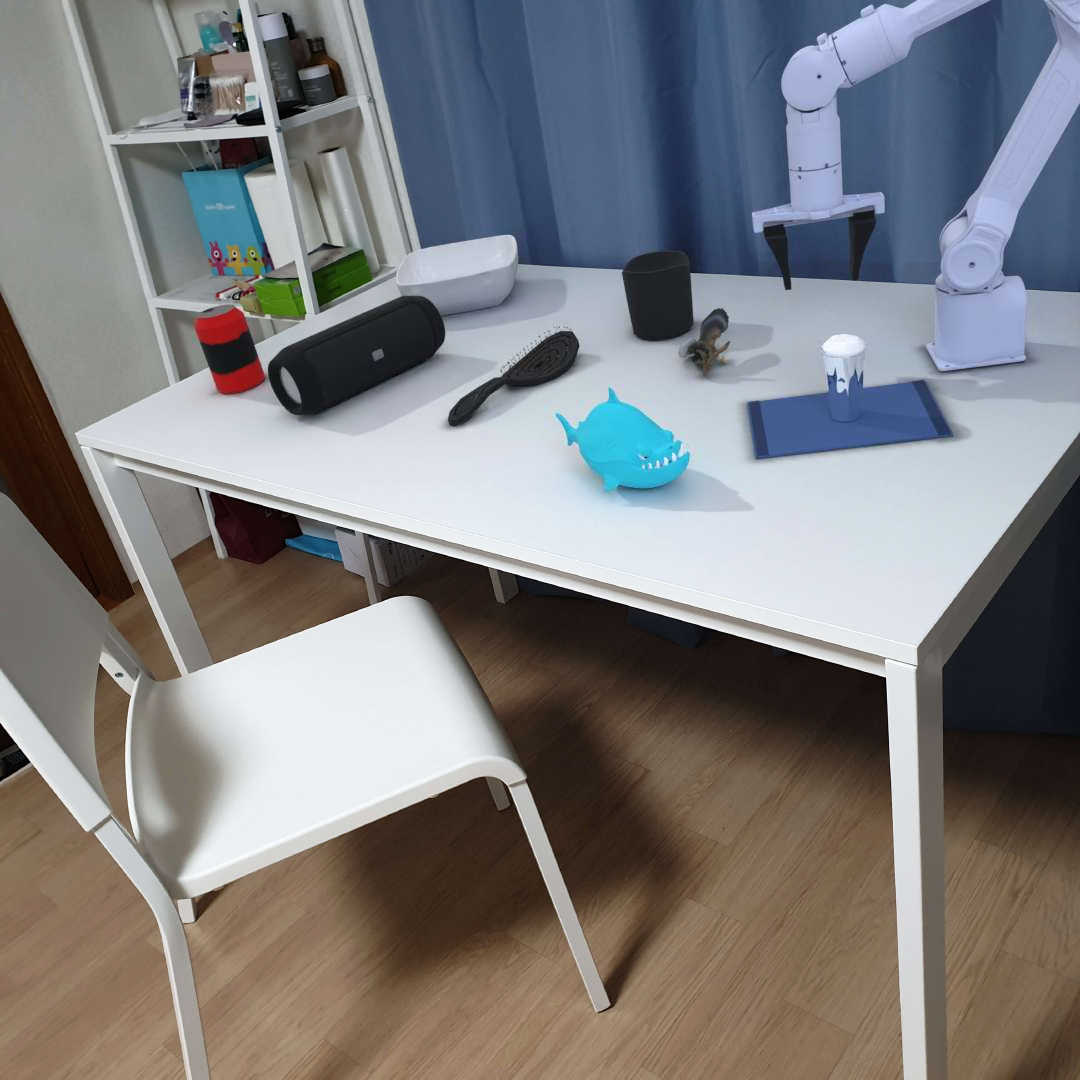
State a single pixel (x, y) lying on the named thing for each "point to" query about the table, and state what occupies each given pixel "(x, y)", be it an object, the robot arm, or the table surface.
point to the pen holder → (659, 294)
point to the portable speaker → (356, 355)
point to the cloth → (813, 429)
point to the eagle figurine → (708, 340)
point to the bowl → (461, 274)
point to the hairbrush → (523, 372)
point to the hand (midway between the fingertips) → (820, 282)
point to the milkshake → (844, 375)
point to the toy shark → (627, 446)
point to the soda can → (229, 349)
